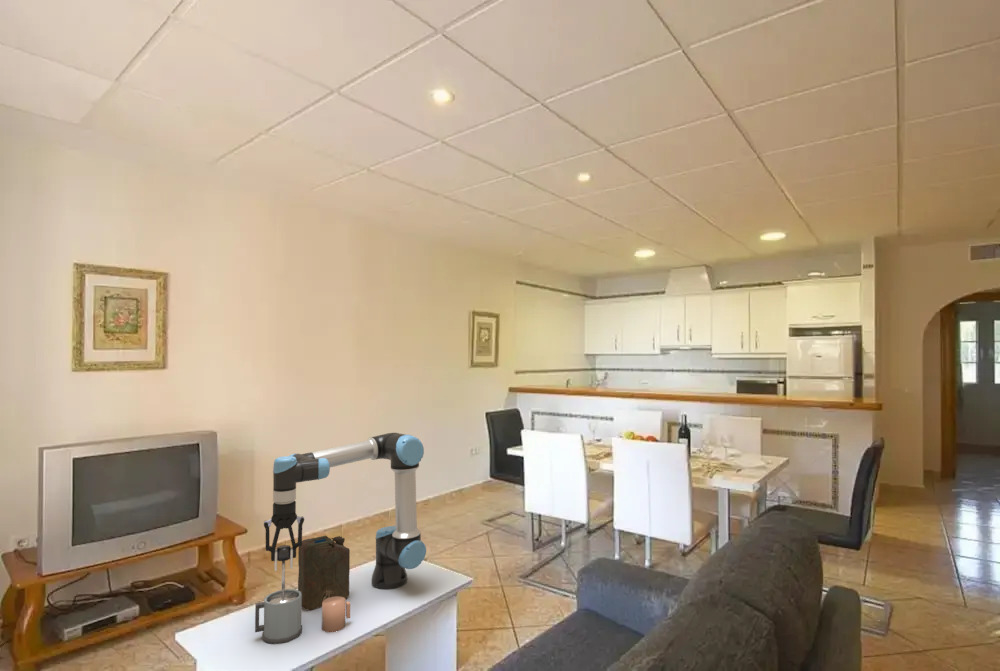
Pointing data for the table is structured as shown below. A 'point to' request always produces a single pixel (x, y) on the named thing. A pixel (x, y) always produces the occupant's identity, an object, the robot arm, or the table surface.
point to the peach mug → (334, 613)
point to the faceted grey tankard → (280, 619)
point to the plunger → (283, 577)
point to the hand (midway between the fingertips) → (283, 568)
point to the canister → (323, 570)
